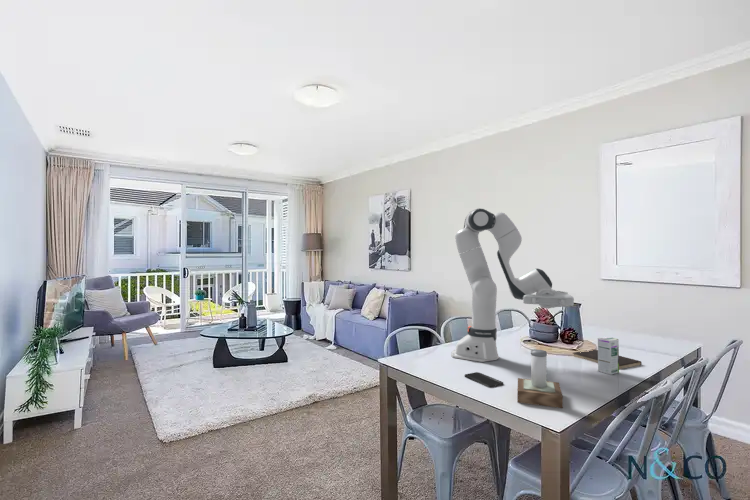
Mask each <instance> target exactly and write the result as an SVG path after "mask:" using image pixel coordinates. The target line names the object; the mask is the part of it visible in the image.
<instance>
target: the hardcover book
mask: <svg viewBox="0 0 750 500" xmlns="http://www.w3.org/2000/svg"><path fill="white" fill-rule="evenodd" d="M592 350H593V349H592ZM580 352H581V351H577V352H576V351H575V352H572V354H573V357H575V358H579V359H582V360H585V361H589V362H592V363H595V364H598V349H595V350H593V351H589V352H581V353H580ZM642 364H643V363H642V361H641V360H637V359H634V358H630V357H627V356H621V355H619V370H621V369H627V368H632V367H637V366H642Z"/></svg>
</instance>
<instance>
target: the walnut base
mask: <svg viewBox="0 0 750 500" xmlns="http://www.w3.org/2000/svg"><path fill="white" fill-rule="evenodd" d="M563 397H564V396H563V392H562V389H561V386H560V382H559V381H558V382H555V381H548V380H547V387H545V388H538V387H534V386H532V385H531V378H520V377H518V378H517V397H516V398H517V403H521V404H526V405H527V404H529V405H536V406H542V407H549V406H550V408H557V407H558V408H557V409H563V408H564V407H563V405H564V404H563V403H564V402H563V399H564V398H563Z"/></svg>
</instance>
